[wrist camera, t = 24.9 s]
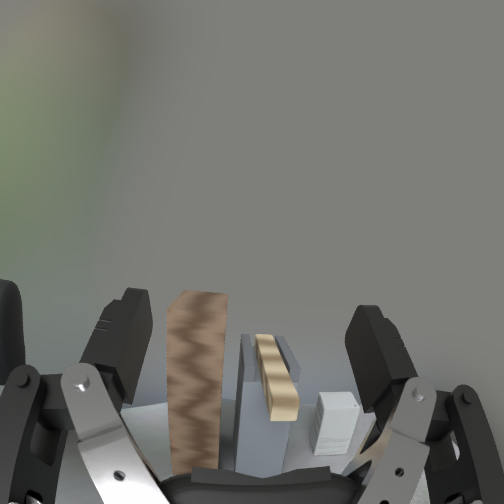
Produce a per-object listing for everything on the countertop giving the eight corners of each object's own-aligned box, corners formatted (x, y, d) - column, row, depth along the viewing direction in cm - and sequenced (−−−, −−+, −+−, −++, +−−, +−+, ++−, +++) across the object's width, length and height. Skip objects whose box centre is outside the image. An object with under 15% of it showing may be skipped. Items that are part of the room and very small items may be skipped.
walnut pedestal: (172, 474, 39) (167, 308, 38) (183, 430, 54) (184, 290, 53) (217, 479, 39) (226, 314, 38) (219, 433, 54) (227, 293, 53)
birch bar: (296, 420, 29) (300, 399, 29) (270, 421, 29) (273, 399, 29) (270, 349, 53) (271, 334, 53) (254, 348, 53) (255, 334, 53)
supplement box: (340, 436, 54) (352, 390, 54) (346, 455, 47) (361, 408, 46) (308, 436, 55) (318, 390, 54) (312, 456, 47) (324, 408, 47)
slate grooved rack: (234, 480, 39) (244, 366, 39) (233, 434, 54) (241, 333, 54) (279, 480, 40) (300, 367, 39) (269, 435, 55) (283, 335, 54)
